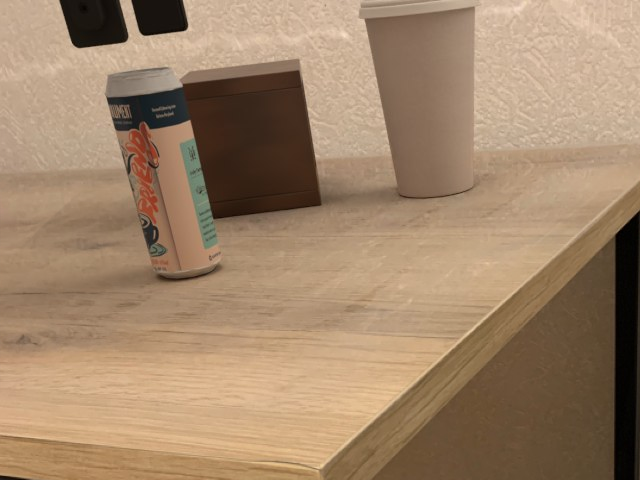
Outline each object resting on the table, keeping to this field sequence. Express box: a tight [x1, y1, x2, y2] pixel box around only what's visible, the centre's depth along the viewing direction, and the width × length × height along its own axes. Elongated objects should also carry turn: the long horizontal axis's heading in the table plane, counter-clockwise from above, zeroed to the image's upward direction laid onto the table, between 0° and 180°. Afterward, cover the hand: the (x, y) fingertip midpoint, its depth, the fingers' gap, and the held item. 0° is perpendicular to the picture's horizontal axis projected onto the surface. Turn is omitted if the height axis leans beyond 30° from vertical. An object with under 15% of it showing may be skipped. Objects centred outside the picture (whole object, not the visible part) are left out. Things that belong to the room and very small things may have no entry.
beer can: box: [104, 66, 223, 279], centre depth 59 cm, size 5×5×12 cm
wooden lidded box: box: [178, 58, 322, 219], centre depth 79 cm, size 10×13×10 cm
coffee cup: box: [358, 0, 481, 199], centre depth 73 cm, size 10×10×15 cm
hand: (135, 38), depth 54 cm, fingers open, 9 cm apart
